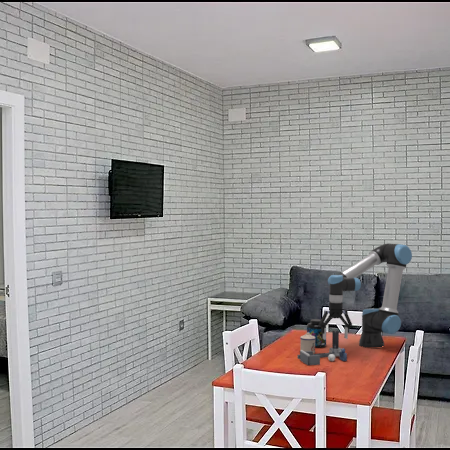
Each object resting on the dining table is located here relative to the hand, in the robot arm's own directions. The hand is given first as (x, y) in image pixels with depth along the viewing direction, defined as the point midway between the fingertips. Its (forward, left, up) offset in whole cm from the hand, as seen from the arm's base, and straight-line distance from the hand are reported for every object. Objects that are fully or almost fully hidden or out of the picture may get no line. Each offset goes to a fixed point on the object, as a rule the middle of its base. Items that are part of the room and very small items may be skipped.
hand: (335, 338), depth 347 cm
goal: (+20, +10, -10) cm, 24 cm away
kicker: (0, +5, -10) cm, 11 cm away
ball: (+7, +10, -8) cm, 14 cm away
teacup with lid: (+11, -14, -10) cm, 21 cm away
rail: (+9, 0, -10) cm, 14 cm away
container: (0, -27, -10) cm, 29 cm away
